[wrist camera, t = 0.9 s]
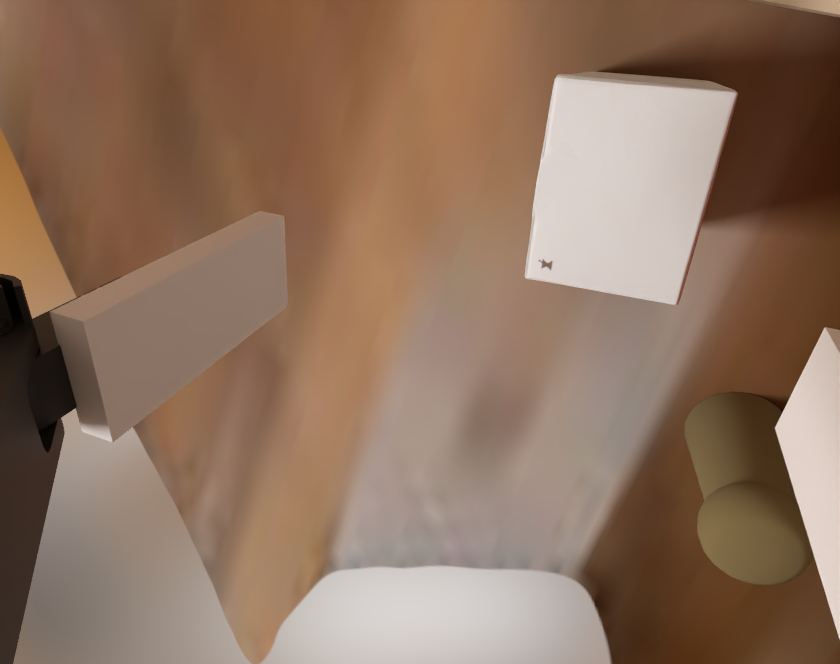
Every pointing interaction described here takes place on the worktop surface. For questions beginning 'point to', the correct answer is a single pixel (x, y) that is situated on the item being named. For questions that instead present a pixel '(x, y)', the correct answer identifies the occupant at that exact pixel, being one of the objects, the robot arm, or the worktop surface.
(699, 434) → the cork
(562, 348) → the worktop surface
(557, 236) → the small box
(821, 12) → the board
